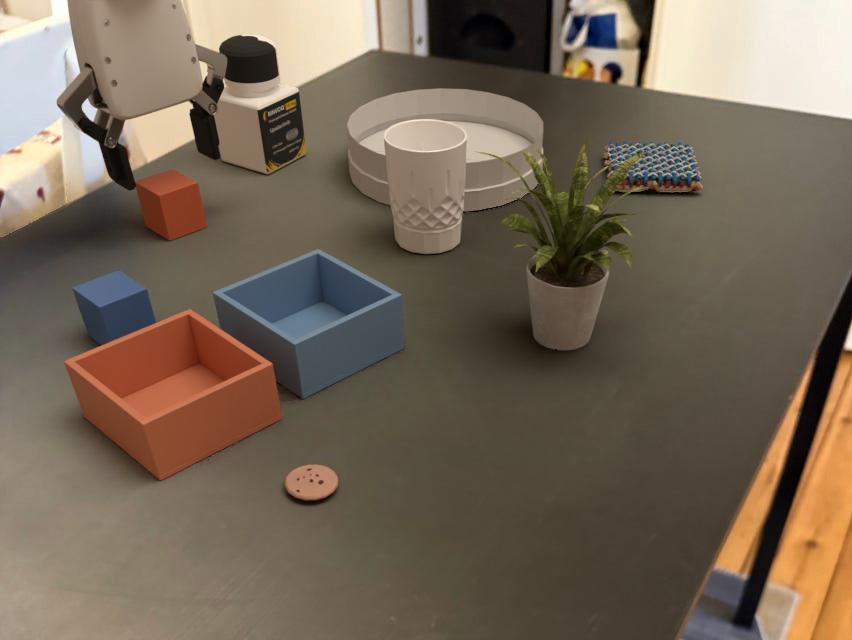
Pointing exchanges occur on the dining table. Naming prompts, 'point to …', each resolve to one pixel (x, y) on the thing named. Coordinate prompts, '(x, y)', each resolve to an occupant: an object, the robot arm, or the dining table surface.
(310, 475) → the cookie
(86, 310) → the blue block
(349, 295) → the blue bin
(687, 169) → the woven mat
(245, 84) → the medicine bottle
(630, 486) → the dining table surface
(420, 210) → the white cup
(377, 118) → the dish
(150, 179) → the terracotta block
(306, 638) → the dining table surface
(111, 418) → the terracotta bin
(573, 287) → the house plant
